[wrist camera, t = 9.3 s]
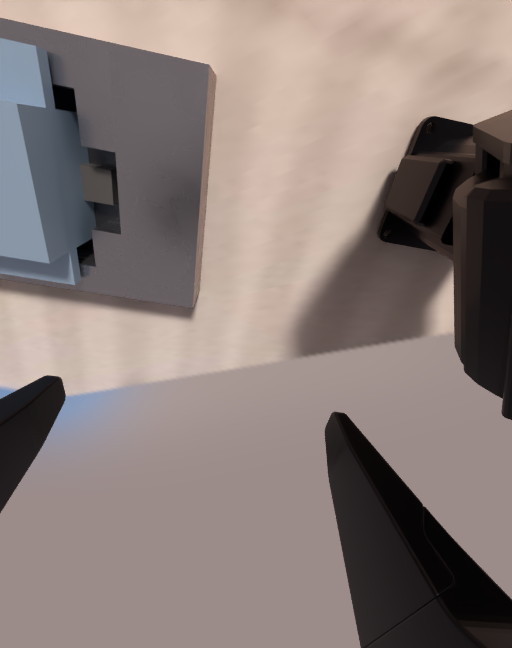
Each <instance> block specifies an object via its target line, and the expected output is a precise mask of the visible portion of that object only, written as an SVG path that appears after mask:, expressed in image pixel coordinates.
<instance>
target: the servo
mask: <svg viewBox="0 0 512 648" xmlns="http://www.w3.org/2000/svg"><path fill="white" fill-rule="evenodd" d="M93 202H98V203H103V204H109V205H115V204H118V203H119V197H118V182H117V169H116V168H111V167H106V166H101V165H96V164H90V163H89V158H88V149H87V147H85V146H81V140H80V132H79V124H78V116H77V112H73V111H68V110H63V109H58V108H55V103H54V96H53V90H52V83H51V76H50V70H49V63H48V57H47V50H44V49H42V48H39V47H37V46H34V45H29V44H25V43H20V42H16V41H11V40H7V39H2V38H0V273H1V274H7V275H14V276H20V277H26V278H33V279H39V280H46V281H52V282H58V283H65V284H71V285H76V284H77V283H78V282H80V281H81V275H80V268H79V262H78V255H77V247H79V246H80V245H82V244H84V243H85V242H87V241H89V240H91V239H92V230H91V229H93V228H95V227H96V221H95V212H94V203H93Z"/></svg>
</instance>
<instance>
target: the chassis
mask: <svg viewBox="0 0 512 648" xmlns="http://www.w3.org/2000/svg"><path fill="white" fill-rule="evenodd" d="M0 38H2V39H7V40H11V41H16V42H20V43H25V44H29V45H34V46H37V47H39V48H42V49H44V50H47V57H48V63H49V70H50V76H51V83H52V90H53V96H54V103H55V108H58V109H63V110H68V111H73V112H77V116H78V124H79V132H80V140H81V146H85V147H87V149H88V158H89V163H90V164H96V165H101V166H106V167H111V168H116V169H117V182H118V197H119V203H118V204H115V205H109V204H103V203H98V202H93V203H94V212H95V221H96V227H95V228H93V229H91V230H92V239H91V240H89V241H87V242H85V243H84V244H82V245H80V246H79V247H77V255H78V262H79V268H80V275H81V281H80V282H78V283H77V284H76V285H71V284H65V283H58V282H52V281H46V280H39V279H33V278H26V277H20V276H14V275H7V274H1V273H0V279H5V280H11V281H18V282H24V283H31V284H37V285H44V286H51V287H57V288H64V289H70V290H77V291H83V292H90V293H96V294H103V295H109V296H116V297H122V298H129V299H135V300H142V301H149V302H155V303H162V304H168V305H175V306H181V307H188V308H193V306H194V304H195V301H196V299H197V296H198V293H199V290H200V277H201V264H202V252H203V239H204V226H205V214H206V201H207V189H208V176H209V163H210V151H211V138H212V125H213V113H214V100H215V87H216V74H215V73H214V71H213V70H212V68H211V67H210V65H208V64H203V63H199V62H194V61H190V60H185V59H181V58H177V57H172V56H168V55H163V54H159V53H154V52H150V51H146V50H141V49H137V48H132V47H128V46H123V45H119V44H114V43H110V42H106V41H101V40H97V39H92V38H88V37H83V36H79V35H74V34H70V33H66V32H61V31H57V30H52V29H48V28H43V27H39V26H34V25H30V24H26V23H21V22H17V21H12V20H8V19H3V18H0Z"/></svg>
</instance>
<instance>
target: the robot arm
mask: <svg viewBox="0 0 512 648" xmlns="http://www.w3.org/2000/svg"><path fill="white" fill-rule="evenodd" d="M429 123H431V124H432V130H431V132H430V133H427V132H426V127H427V125H428V124H429ZM385 207H386V211H385V214H384V216H383V219H382V221H381V224H380V227H379V229H378V233H377V235H378V237H379V239H381V240H382V241H384V242H388V243H394V244H399V245H405V246H410V247H416V248H421V249H427V250H432V251H438V252H439V253H441V254H443V255H444V256H446V257H448V258H449V259H451V260H452V261H453V264H454V332H455V348H456V350H457V353H458V355H459V358H460V360H461V362H462V363H463V365H464V371H465V373H466V374H467V375H468V376H469V377H471V378H472V379H473V380H474V381H475V382H476V383H477V384H479V385H480V386H482V387H483V388H485V389H487V390H488V391H490V392H492V393H493V394H495V395H497V396H499V397H501V398H503V404H502V415H503V416H504V417H505V418H508V419H511V420H512V110H510V111H508V112H505V113H503V114H500V115H497V116H495V117H492V118H490V119H487V120H485V121H482V122H480V123H477V124H475V125H472V124H467V123H463V122H459V121H454V120H450V119H445V118H441V117H436V116H432V117H427V118H425V119H424V120H423V121H422V122H421V123H420V125H419V126H418V129H417V132H416V134H415V137H414V139H413V142H412V144H411V147H410V149H409V152H408V155H407V156H405V157H404V158H403V159H402V160H401V163H400V165H399V168H398V170H397V173H396V176H395V178H394V181H393V183H392V186H391V189H390V191H389V194H388V197H387V199H386V202H385ZM386 230H390V232H389V234H388V235H387V236H384V232H385V231H386ZM65 396H66V395H65V390H64V386H63V382H62V379H61V378H60V377H57V376H49V375H47V376H44V377H42V378H40V379H38V380H36V381H34V382H32V383H30V384H28V385H26V386H24V387H22V388H21V389H19V390H17V391H15V392H13V393H11V394H9V395H7V396H5V397H3V398H1V399H0V513H1V511H2V509H3V508H4V506H5V505H6V503H7V501H8V500H9V498H10V497H11V495H12V494H13V492H14V490H15V489H16V487H17V486H18V484H19V482H20V481H21V479H22V478H23V476H24V475H25V473H26V471H27V470H28V468H29V467H30V465H31V464H32V462H33V460H34V459H35V457H36V456H37V454H38V452H39V451H40V449H41V447H42V446H43V444H44V442H45V440H46V438H47V436H48V434H49V432H50V430H51V428H52V426H53V424H54V421H55V420H56V418H57V416H58V414H59V412H60V410H61V408H62V406H63V404H64V401H65ZM325 442H326V454H327V466H328V477H329V483H330V488H331V493H332V499H333V504H334V509H335V514H336V519H337V525H338V530H339V536H340V541H341V546H342V551H343V557H344V562H345V567H346V572H347V577H348V582H349V588H350V593H351V599H352V604H353V609H354V614H355V620H356V625H357V630H358V635H359V640H360V646H361V648H512V599H510V597H509V596H508V595H507V594H506V593H505V592H504V591H503V590H502V589H501V588H500V587H499V586H498V585H497V584H496V583H495V582H494V581H493V580H492V579H491V578H490V577H489V576H488V575H487V574H486V573H485V572H484V570H482V568H481V567H480V566H479V565H478V564H477V563H476V562H475V561H474V560H473V559H472V558H471V557H470V556H469V555H468V554H467V553H466V552H465V551H464V550H463V549H462V548H461V547H460V546H459V545H458V543H457V542H456V541H455V540H454V539H453V538H452V537H451V536H450V535H449V534H448V533H447V532H446V530H445V529H444V528H443V527H442V526H441V525H440V523H439V522H438V521H437V520H436V519H435V518H434V517H433V516H432V514H431V513H430V512H429V511H428V510H427V509H426V507H424V506H423V504H422V503H421V502H420V500H419V499H418V498H417V497H416V496H415V495H414V493H413V492H412V491H411V490H410V489H409V487H408V486H407V485H406V484H405V483H404V482H403V481H402V479H401V478H400V477H399V476H398V475H397V473H396V472H395V471H394V470H393V469H392V468H391V467H390V465H389V464H388V463H387V462H386V461H385V459H384V458H383V457H382V456H381V455H380V454H379V452H378V451H377V450H376V449H375V448H374V446H373V445H371V443H370V442H369V441H368V440H367V439H366V437H365V436H364V435H363V434H362V432H361V431H360V430H359V429H358V428H357V427H356V426H355V424H354V423H353V422H352V421H351V420H350V418H349V417H348V416H347V415H346V414H345V413H340V412H333V413H332V414H331V416H330V418H329V421H328V423H327V425H326V428H325Z"/></svg>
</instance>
